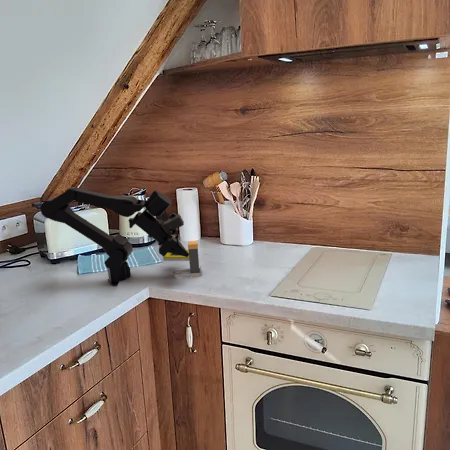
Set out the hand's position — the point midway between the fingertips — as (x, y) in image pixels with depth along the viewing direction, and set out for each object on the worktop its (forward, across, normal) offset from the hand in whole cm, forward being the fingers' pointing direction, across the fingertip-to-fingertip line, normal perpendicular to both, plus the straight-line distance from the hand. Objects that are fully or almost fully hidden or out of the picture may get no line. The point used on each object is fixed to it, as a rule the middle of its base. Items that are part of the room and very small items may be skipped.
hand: (188, 255), depth 154 cm
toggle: (+6, 0, +3) cm, 7 cm away
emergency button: (+4, +20, +8) cm, 22 cm away
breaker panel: (+5, 0, +6) cm, 8 cm away
